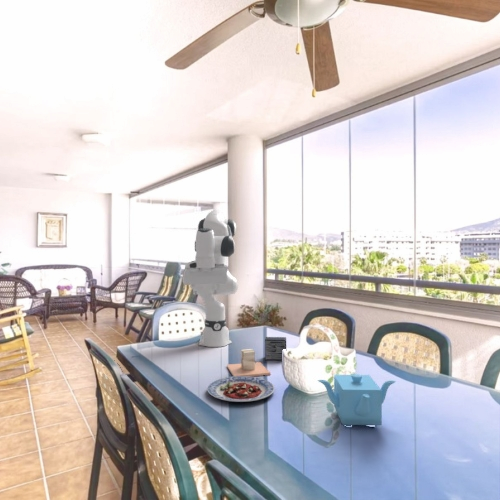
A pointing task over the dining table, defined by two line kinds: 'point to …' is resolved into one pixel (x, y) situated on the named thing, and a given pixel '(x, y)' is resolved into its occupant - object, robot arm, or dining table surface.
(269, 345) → the small box
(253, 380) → the ceramic plate
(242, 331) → the dining table surface
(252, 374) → the terracotta tile
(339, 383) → the teakettle
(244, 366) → the ash block
